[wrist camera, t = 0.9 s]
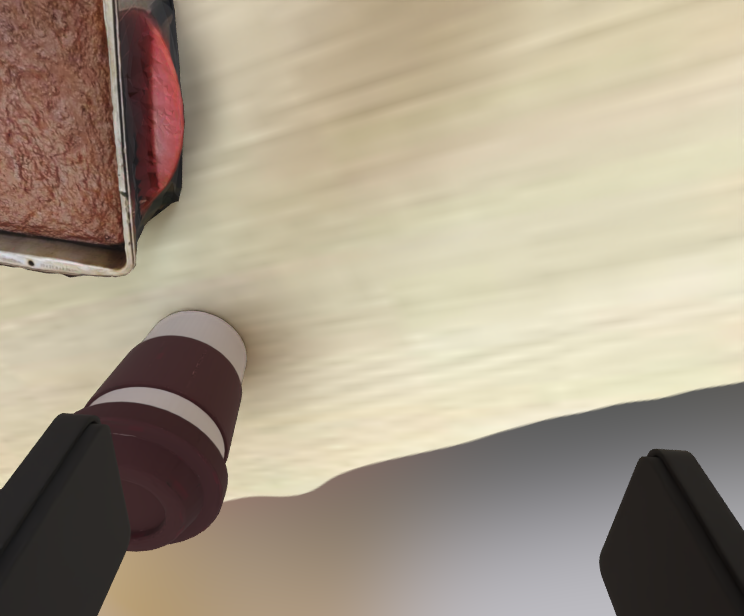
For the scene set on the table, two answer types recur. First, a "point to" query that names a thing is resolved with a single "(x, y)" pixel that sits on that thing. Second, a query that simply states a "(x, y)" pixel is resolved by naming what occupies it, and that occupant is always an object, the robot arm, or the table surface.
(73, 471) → the robot arm
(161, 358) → the coffee cup
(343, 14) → the table surface
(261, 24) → the table surface
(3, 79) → the baking dish
